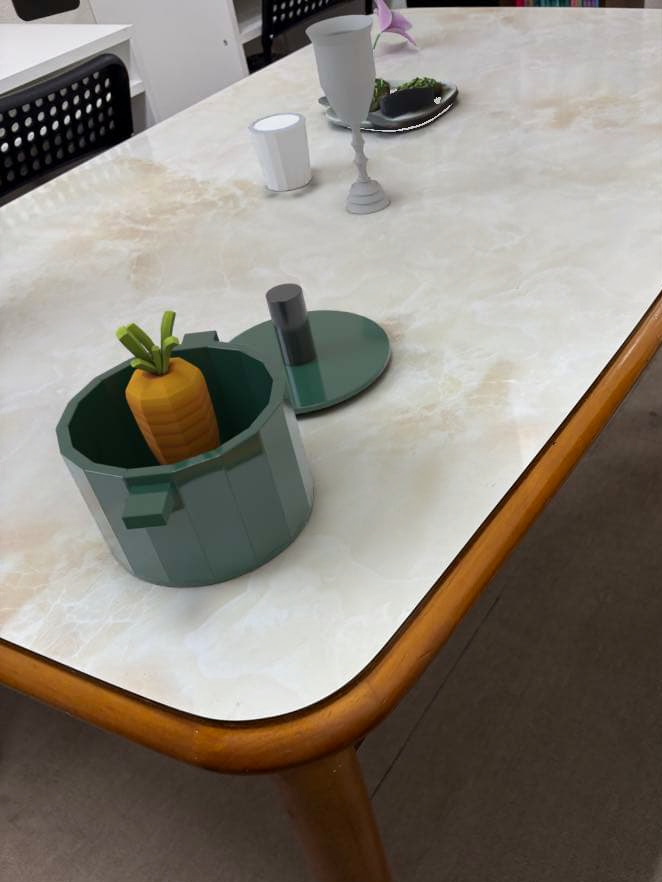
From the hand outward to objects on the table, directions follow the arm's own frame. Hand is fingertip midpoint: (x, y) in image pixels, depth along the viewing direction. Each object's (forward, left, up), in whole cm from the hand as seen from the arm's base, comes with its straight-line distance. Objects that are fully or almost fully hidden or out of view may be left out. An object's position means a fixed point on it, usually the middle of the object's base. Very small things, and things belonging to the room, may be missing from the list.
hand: (30, 2), depth 47 cm
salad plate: (+16, +72, -31) cm, 80 cm away
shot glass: (+3, +52, -31) cm, 60 cm away
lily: (+16, +103, -31) cm, 109 cm away
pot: (+3, -9, -30) cm, 32 cm away
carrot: (+3, -9, -30) cm, 31 cm away
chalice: (+13, +42, -31) cm, 54 cm away
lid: (+8, +9, -30) cm, 32 cm away
